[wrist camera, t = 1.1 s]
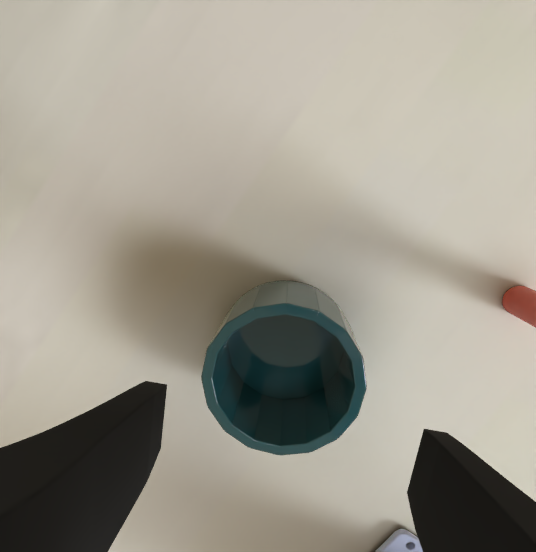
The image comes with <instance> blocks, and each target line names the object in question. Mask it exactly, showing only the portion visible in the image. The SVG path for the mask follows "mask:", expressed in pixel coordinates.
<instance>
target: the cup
mask: <svg viewBox="0 0 536 552" xmlns="http://www.w3.org/2000/svg"><path fill="white" fill-rule="evenodd" d="M201 377H202V378H201V379H202V384H203V389H204V393H205V398H206V402H207V406H208V408H209V410H210V411H211V412H212V414H213V415H214V417H215V418H216V420H217V421H218V422H219V424H220V425H221V427H222V428H223V430H225V432H227V433H228V434H230V435H231V436H233V437H234V438H236V439H237V440H238V441H240V442H241V443H243V444H244V445H246V446H247V447H249V448H252V449H256V450H260V451H264V452H268V453H272V454H276V455H290V454H300V453H309V452H312V451H314V450H316V449H318V448H320V447H322V446H324V445H326V444H328V443H330V442H333V441H335V440H337V438H339V437H340V436H341V435H342V434H343V432H344V431H345V430H346V429H347V428H348V427H349V426H350V424H351V423H352V422H353V421H354V420H355V419H356V418H357V416H358V414H359V411H360V408H361V404H362V401H363V398H364V395H365V392H366V387H367V385H366V377H365V369H364V361H363V357H362V354H361V352H360V349H359V347H358V344H357V342H356V339H355V337H354V335H353V332H352V330H351V327H350V325H349V323H348V322H347V320H346V318H345V316H344V314H343V312H342V311H341V309H340V308H339V307H338V305H337V304H336V303H335V302H334V301H333V300H332V299H331V298H330V297H329V296H328V295H326V294H325V293H324V292H322V291H320V290H319V289H317V288H315V287H313V286H311V285H308V284H305V283H301V282H296V281H274V282H269V283H265V284H262V285H260V286H257V287H255V288H253V289H251V290H250V291H248V292H247V293H245V294H244V295H243V296H242V297H241V298H239V299H238V300H237V302H236V303H235V304H234V305H233V306H232V308H231V310H230V311H229V313H228V314H227V315H226V317H225V318H224V320H223V322H222V323H221V325H220V327H219V329H218V330H217V332H216V334H215V336H214V337H213V339H212V341H211V343H210V344H209V346H208V348H207V351H206V356H205V361H204V366H203V370H202V375H201Z"/></svg>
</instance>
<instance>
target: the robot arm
mask: <svg viewBox="0 0 536 552" xmlns="http://www.w3.org/2000/svg"><path fill="white" fill-rule="evenodd" d="M166 389H167V385H166V384H160V383H154V382H148V381H145V382H143V383H141V384H139V385H137V386H135V387H133V388H131V389H129V390H127V391H125V392H124V393H122V394H120V395H118V396H116V397H114V398H112V399H111V400H109V401H107V402H105V403H103V404H101V405H99V406H97V407H95V408H94V409H92V410H90V411H88V412H85V413H83V414H81V415H79V416H77V417H75V418H73V419H71V420H69V421H66V422H64V423H62V424H60V425H58V426H56V427H54V428H51V429H49V430H47V431H44V432H42V433H39V434H37V435H34V436H32V437H29V438H27V439H24V440H21V441H19V442H16V443H13V444H11V445H8V446H5V447H2V448H0V552H108V550H109V548H110V547H111V545H112V543H113V541H114V540H115V538H116V536H117V534H118V532H119V531H120V529H121V527H122V525H123V524H124V522H125V520H126V518H127V517H128V515H129V513H130V511H131V510H132V508H133V506H134V504H135V502H136V501H137V499H138V497H139V495H140V493H141V492H142V490H143V488H144V486H145V484H146V482H147V480H148V478H149V476H150V473H151V471H152V468H153V466H154V464H155V461H156V459H157V456H158V454H159V451H160V449H161V440H162V429H163V419H164V409H165V399H166ZM407 494H408V499H409V503H410V508H411V513H412V517H413V521H414V525H415V529H416V533H417V536H418V537H416V536H415V535H413V534H412V533H411V532H409V531H408V530H405V529H398V530H397V531H395V532H394V533H393V534H392V535H391V536H390V537H389V538H388V539H387V540H386V541H385V542H384V543H383V544H382V545H381V546H380V547H379V548H378V549H377V550H376V551H375V552H536V502H535V501H534V500H533V499H531V498H530V497H529V496H527V495H526V494H525V493H523V492H522V491H521V490H520V489H518V488H517V487H516V486H514V485H513V484H512V483H511V482H509V481H508V480H507V479H506V478H504V477H503V476H502V475H501V474H499V473H498V472H497V471H496V470H494V469H493V468H492V467H491V466H489V465H488V464H487V463H486V462H484V461H483V460H482V459H481V458H479V457H478V456H477V455H476V454H474V453H473V452H472V451H471V450H469V449H468V448H467V447H466V446H464V445H463V444H462V443H460V442H459V441H458V440H456V439H455V438H454V437H452V436H451V435H449V434H448V433H445V432H439V431H433V430H428V429H424V431H423V435H422V438H421V442H420V446H419V450H418V454H417V457H416V461H415V465H414V469H413V472H412V476H411V480H410V484H409V487H408V491H407ZM408 542H411V543H408Z"/></svg>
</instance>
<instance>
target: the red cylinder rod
mask: <svg viewBox="0 0 536 552" xmlns="http://www.w3.org/2000/svg"><path fill="white" fill-rule="evenodd" d="M502 302H503V306H504V308H505V310H506V311H507V312H509V313H511V314H513V315H514V316H516V317H518V318H520V319H522V320H523V321H525V322H527V323H529V324H530V325H532V326H534V327H536V291H535V290H532V289H530V288H527V287H524V286H515V287H512V288H510V289H509V290H508V291H507V292H506V293H505V294H504V296H503V301H502Z"/></svg>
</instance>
